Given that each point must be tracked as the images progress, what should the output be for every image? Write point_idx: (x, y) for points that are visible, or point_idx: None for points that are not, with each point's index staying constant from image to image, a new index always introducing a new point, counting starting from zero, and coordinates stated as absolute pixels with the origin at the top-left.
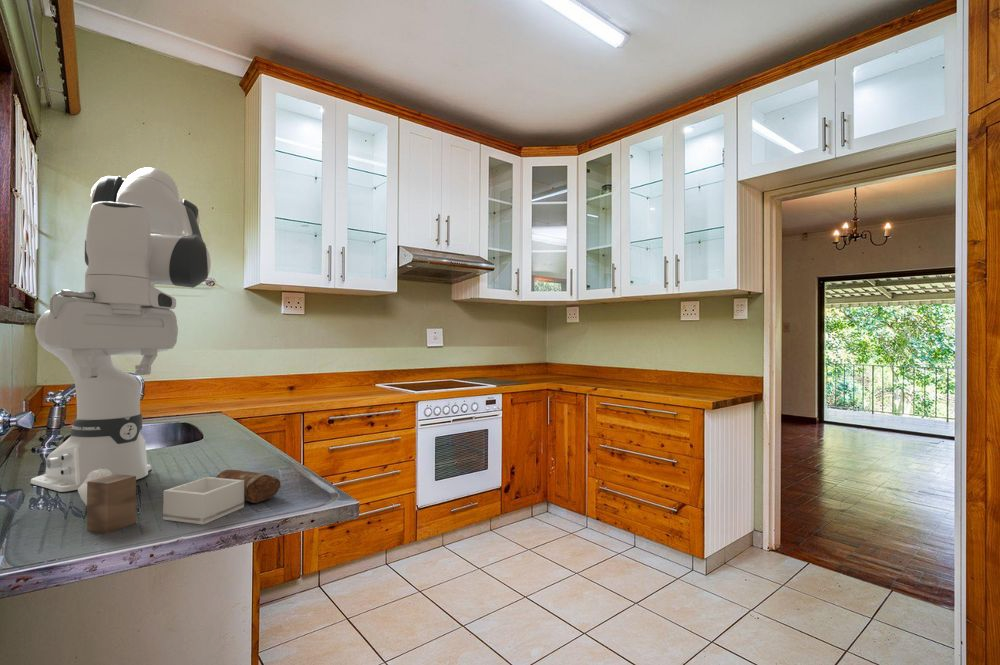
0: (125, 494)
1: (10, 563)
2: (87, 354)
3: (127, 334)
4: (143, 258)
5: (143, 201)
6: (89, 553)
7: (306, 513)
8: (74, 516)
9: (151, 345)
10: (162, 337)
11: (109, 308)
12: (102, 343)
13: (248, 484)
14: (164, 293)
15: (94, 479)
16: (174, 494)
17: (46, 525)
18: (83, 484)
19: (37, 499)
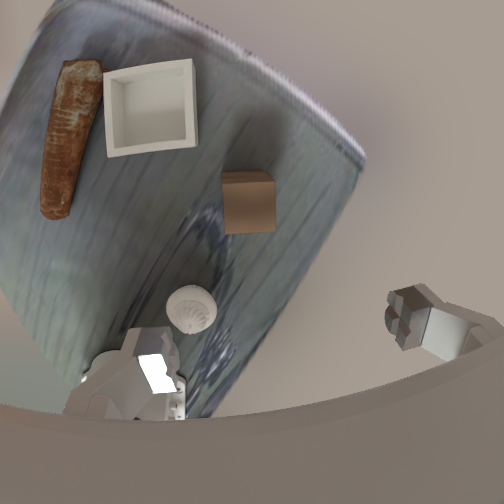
0: (240, 178)
1: (355, 184)
2: (485, 330)
3: (354, 498)
4: None
5: None
6: (315, 123)
7: None
8: (233, 279)
9: (99, 432)
10: (9, 467)
11: None
12: (494, 362)
13: (99, 74)
14: None
15: (202, 311)
16: (194, 121)
17: (267, 276)
18: (211, 318)
19: (211, 377)
